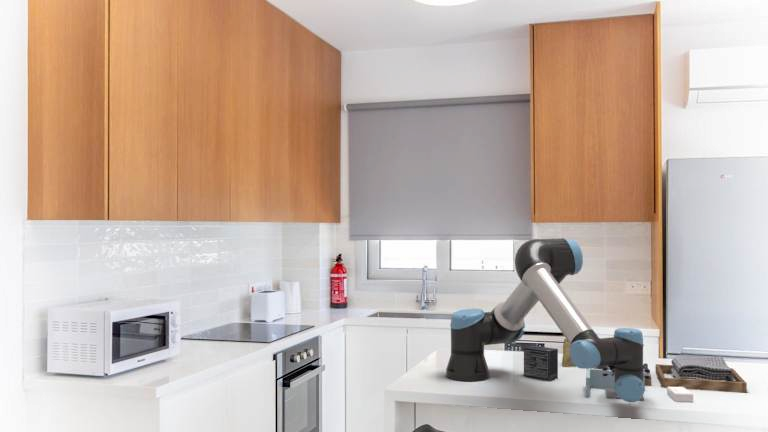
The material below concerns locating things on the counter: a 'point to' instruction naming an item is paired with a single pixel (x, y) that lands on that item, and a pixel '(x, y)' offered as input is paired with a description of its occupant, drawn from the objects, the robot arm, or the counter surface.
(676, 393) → the soap
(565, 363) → the rock
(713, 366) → the towel
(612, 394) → the coaster
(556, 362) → the small box
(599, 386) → the divider
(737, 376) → the towel frame
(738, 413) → the counter surface
